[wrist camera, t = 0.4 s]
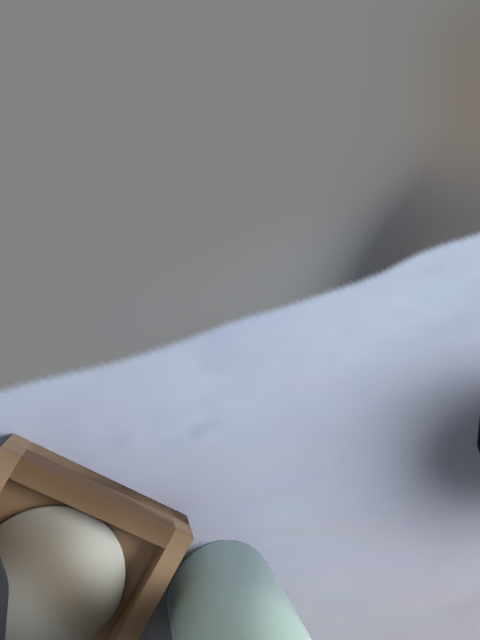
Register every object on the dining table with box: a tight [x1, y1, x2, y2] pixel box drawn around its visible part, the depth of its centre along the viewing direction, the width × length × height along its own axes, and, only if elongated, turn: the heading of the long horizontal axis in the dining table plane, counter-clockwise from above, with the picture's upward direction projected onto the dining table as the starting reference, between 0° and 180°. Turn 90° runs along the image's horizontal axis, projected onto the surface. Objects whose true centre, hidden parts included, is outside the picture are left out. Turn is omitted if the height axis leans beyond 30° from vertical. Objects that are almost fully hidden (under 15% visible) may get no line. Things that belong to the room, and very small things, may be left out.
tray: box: [0, 434, 193, 640], centre depth 22 cm, size 10×10×3 cm
